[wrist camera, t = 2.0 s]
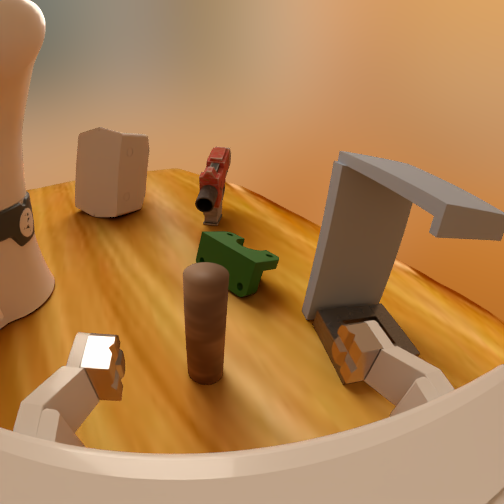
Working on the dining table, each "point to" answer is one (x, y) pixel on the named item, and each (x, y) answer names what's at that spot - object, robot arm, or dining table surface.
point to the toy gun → (213, 185)
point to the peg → (205, 320)
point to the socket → (334, 318)
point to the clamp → (236, 260)
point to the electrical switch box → (111, 172)
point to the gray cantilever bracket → (383, 226)
